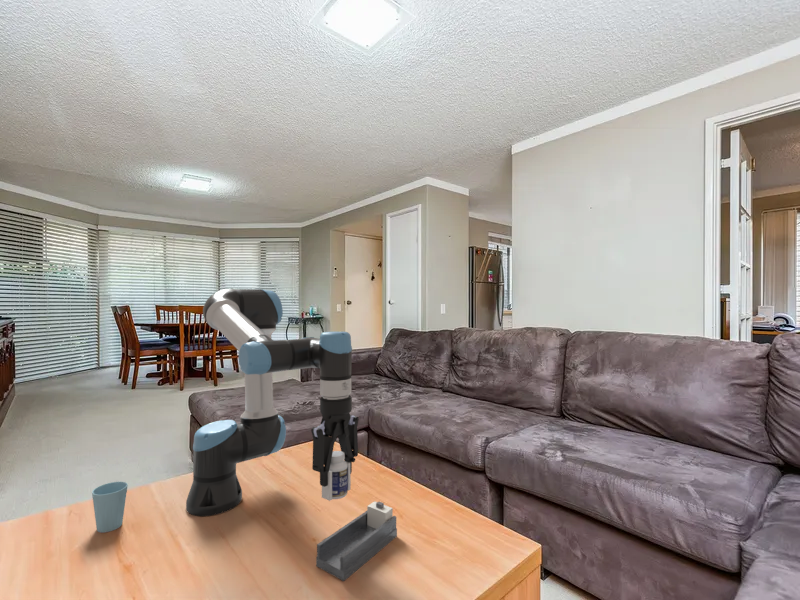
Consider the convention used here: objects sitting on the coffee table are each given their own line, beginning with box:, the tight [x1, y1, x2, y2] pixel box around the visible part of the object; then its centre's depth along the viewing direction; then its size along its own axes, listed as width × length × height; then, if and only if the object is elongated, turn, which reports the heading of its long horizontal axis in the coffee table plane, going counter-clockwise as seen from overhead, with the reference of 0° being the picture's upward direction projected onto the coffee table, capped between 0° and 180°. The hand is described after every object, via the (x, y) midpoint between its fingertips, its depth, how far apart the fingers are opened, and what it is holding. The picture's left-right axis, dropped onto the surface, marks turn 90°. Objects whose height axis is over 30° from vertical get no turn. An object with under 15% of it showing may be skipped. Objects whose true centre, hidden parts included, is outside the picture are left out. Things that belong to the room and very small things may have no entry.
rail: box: [315, 510, 398, 582], centre depth 95 cm, size 8×20×5 cm, turn 145°
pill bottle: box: [329, 450, 348, 500], centre depth 93 cm, size 5×5×10 cm
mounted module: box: [366, 501, 394, 529], centre depth 102 cm, size 6×3×6 cm, turn 55°
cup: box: [91, 481, 129, 533], centre depth 105 cm, size 8×8×10 cm
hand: (336, 493), depth 93 cm, fingers closed on pill bottle, 5 cm apart
